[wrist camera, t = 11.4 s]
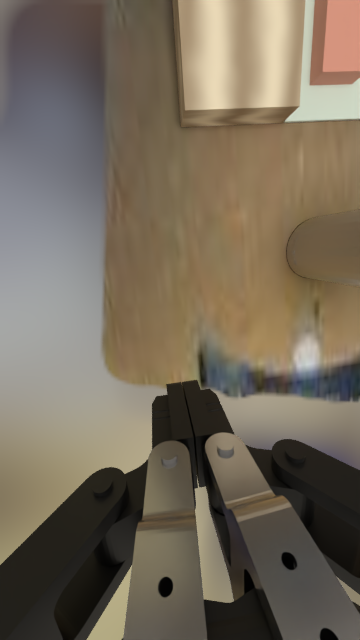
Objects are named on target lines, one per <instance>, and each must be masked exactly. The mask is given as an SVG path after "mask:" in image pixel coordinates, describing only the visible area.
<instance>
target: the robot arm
mask: <svg viewBox="0 0 360 640" xmlns="http://www.w3.org/2000/svg"><path fill="white" fill-rule="evenodd" d="M287 259H288V263H289V265H290V267H291V269H292V270H293V271H294V272H295V273H296V274H298V275H299V276H302V277H305V278H311V279H316V280H321V281H327V282H332V283H338V284H343V285H349V286H354V287H360V209H358V210H353V211H347V212H342V213H337V214H331V215H326V216H321V217H316V218H312V219H309V220H307V221H305V222H303V223H302V224H300V225H299V226H298V227H297V228H296V229H295V231H294V232H293V233H292V235H291V237H290V239H289V242H288V245H287ZM166 385H167V394H168V395H163V396H157V397H156V398H155V400H154V402H153V403H152V451H151V453H150V455H149V458H148V460H147V461H146V462H145V463H144V464H143V465H141V466H140V467H139V468H137V469H135V470H133V471H131V472H128V473H126V474H124V473H123V472H122V471H121V470H120V469H117V468H112V467H109V468H104V469H101V470H99V471H97V472H95V473H93V474H92V475H91V476H90V477H89V478H87V479H86V480H85V482H83V483H82V484H81V485H80V486H79V488H77V489H76V490H75V492H73V493H72V494H71V495H70V496H69V497H68V498H67V499H66V501H65V502H63V504H61V505H60V506H59V507H58V508H57V509H56V510H55V511H54V512H53V513H52V514H51V515H50V517H48V518H47V519H46V520H45V521H44V522H43V523H42V524H41V525H40V526H39V527H38V528H37V529H36V530H35V531H34V532H33V533H32V534H31V535H30V536H29V537H28V538H27V539H26V540H25V541H24V542H23V543H22V544H21V545H20V546H19V547H18V548H17V549H16V550H15V551H14V552H13V553H12V554H11V555H10V556H9V557H8V558H7V559H6V560H5V561H4V562H3V563H2V564H1V565H0V640H86V639H87V638H88V636H89V634H90V633H91V631H92V629H93V628H94V626H95V624H96V623H97V621H98V619H99V618H100V616H101V615H102V613H103V611H104V610H105V608H106V607H107V605H108V603H109V602H110V600H111V598H112V597H113V595H114V593H115V592H116V590H117V588H118V587H119V585H120V584H121V582H122V580H123V579H124V577H125V575H126V574H127V572H128V570H129V569H130V567H131V565H132V571H131V579H130V587H129V596H128V604H127V612H126V621H125V629H124V638H123V639H122V640H360V606H359V605H357V604H356V603H354V602H352V601H351V600H350V598H349V596H348V595H347V593H346V591H345V590H344V588H343V587H342V585H341V584H340V582H339V580H338V579H337V577H338V578H339V579H340V580H342V581H343V582H345V583H346V584H347V585H348V586H349V587H351V588H352V589H353V590H354V591H356V592H357V593H358V594H360V470H358V469H356V468H354V467H351V466H349V465H347V464H345V463H343V462H341V461H339V460H337V459H335V458H333V457H331V456H329V455H327V454H325V453H322V452H321V451H318V450H316V449H314V448H312V447H310V446H308V445H306V444H304V443H302V442H299V441H296V440H292V439H284V440H280V441H278V442H276V443H275V444H274V446H273V448H272V450H264V449H256V448H252V447H249V446H247V445H245V444H244V442H243V441H242V440H241V439H240V438H239V437H238V436H236V435H235V434H234V432H233V430H232V428H231V426H230V423H229V422H228V419H227V417H226V415H225V412H224V410H223V408H222V406H221V404H220V401H219V399H218V397H217V395H216V394H215V393H214V392H213V391H211V390H210V389H205V390H200V387H199V384H198V381H197V380H193V381H186V382H182V384H181V382H179V383H171V384H166ZM197 478H198V483H199V487H204V486H206V489H207V493H208V500H209V510H210V514H211V517H212V520H213V523H214V527H215V530H216V533H217V537H218V540H219V544H220V547H221V550H222V554H223V557H224V561H225V564H226V567H227V570H228V574H229V578H230V583H231V589H232V593H233V599H234V602H232V603H223V602H217V601H210V600H204V599H203V588H202V578H201V568H200V557H199V547H198V536H197V526H196V516H195V508H196V500H195V490H194V488H198V485H197ZM336 576H337V577H336Z"/></svg>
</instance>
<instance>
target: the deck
mask: <svg viewBox="0 0 360 640" xmlns="http://www.w3.org/2000/svg"><path fill="white" fill-rule="evenodd" d="M172 4H173V19H174V34H175V48H176V63H177V78H178V92H179V107H180V122H181V127H200V126H224V125H247V124H271V123H283V122H284V121H285V120H286V119H287V118H288V117H289V116H290V115H291V114H292V113H293V112H294V111H295V110H296V109H297V108H298V107H299V106H300V91H301V73H302V54H303V35H304V17H305V0H172Z"/></svg>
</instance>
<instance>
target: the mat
mask: <svg viewBox="0 0 360 640" xmlns="http://www.w3.org/2000/svg"><path fill="white" fill-rule="evenodd" d="M314 5H315V0H305V17H304V35H303V54H302V73H301V91H300V106H299V107H298V108H297V109H296V110H295V111H294V112H293V113H292V114H291V115H290V116H289V117H288V118H287V119H286V120H285V121H284V123H295V122H319V121H343V120H360V78H359V79H358V80H356V81H355V82H354V83H353V84H343V85H310V70H311V53H312V37H313V21H314Z"/></svg>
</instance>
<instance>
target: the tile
mask: <svg viewBox="0 0 360 640" xmlns="http://www.w3.org/2000/svg"><path fill="white" fill-rule="evenodd" d="M359 78H360V0H315V5H314V21H313V37H312V53H311V70H310V85H343V84H353V83H354V82H355V81H356V80H358V79H359Z"/></svg>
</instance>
